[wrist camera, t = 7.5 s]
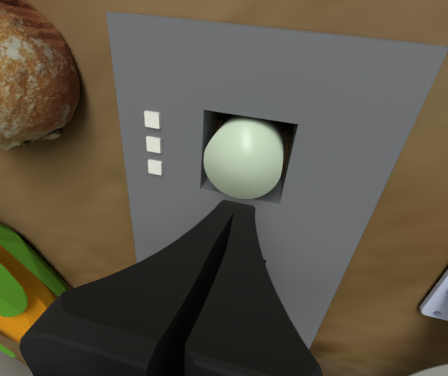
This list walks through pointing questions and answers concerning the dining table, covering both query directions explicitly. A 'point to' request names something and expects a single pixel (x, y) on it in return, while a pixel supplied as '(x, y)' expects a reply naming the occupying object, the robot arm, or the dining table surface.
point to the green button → (245, 156)
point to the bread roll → (33, 76)
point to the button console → (271, 110)
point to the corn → (23, 286)
